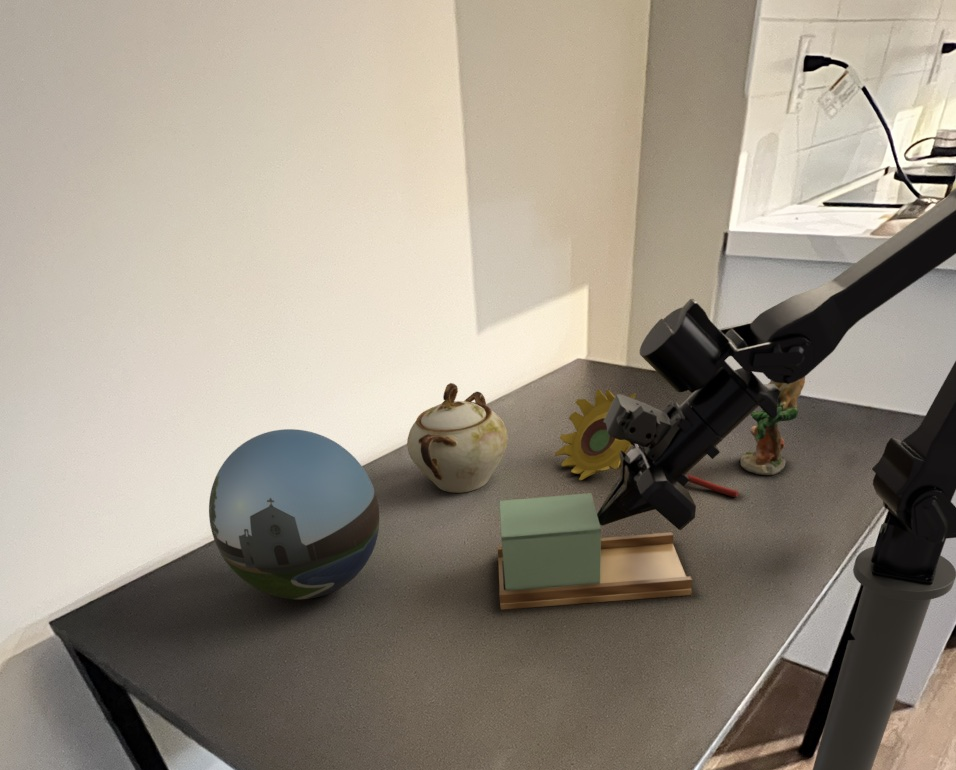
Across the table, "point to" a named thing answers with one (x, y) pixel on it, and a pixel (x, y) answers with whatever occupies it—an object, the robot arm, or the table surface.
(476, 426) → the sugar bowl
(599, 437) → the decorative flower
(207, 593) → the table surface
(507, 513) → the cover
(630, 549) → the dock
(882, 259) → the robot arm
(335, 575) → the decorative sphere
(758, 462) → the figurine
